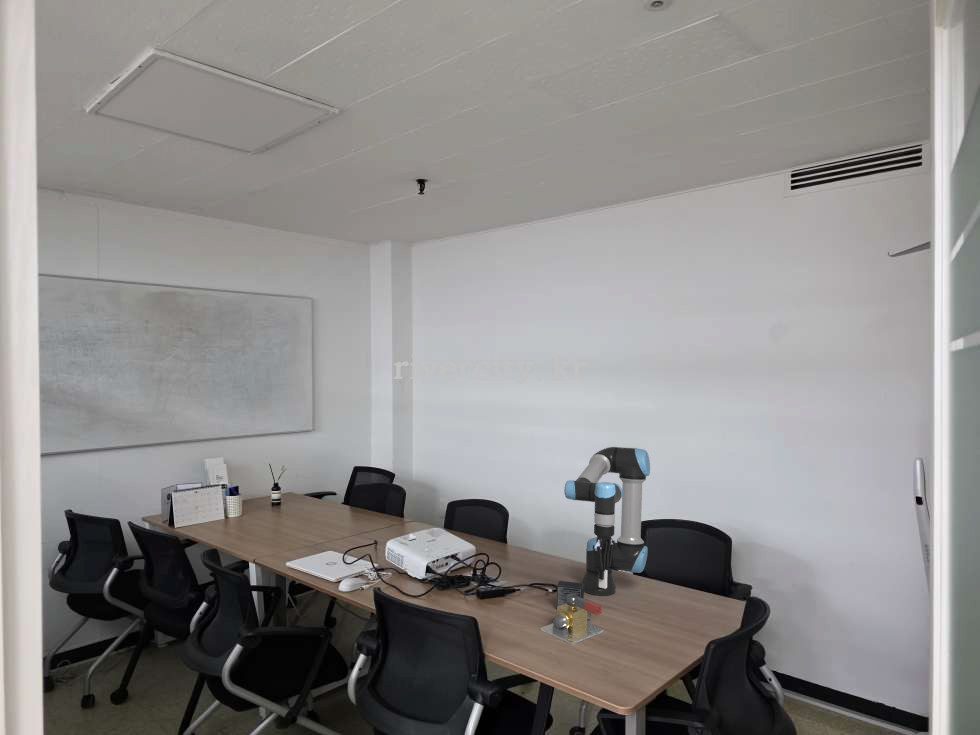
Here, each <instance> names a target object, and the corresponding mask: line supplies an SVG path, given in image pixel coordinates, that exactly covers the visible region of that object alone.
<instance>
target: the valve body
mask: <svg viewBox="0 0 980 735" xmlns="http://www.w3.org/2000/svg"><path fill="white" fill-rule="evenodd" d="M556 612H557V613H556V617H554V618H553V619H552V623H549V624H547V625H545V626H542V627H540V628H539V631H541V632H544V633H546V634H548V635H549V636H552V637H554V638H556V639H559V640H560V641H563V642H565V643H567V644H569V645H572V646H573V645H575V644H577V643H580V642H581V641H584V640H587V639H589V638H592V637H594V636H596V635H599V634H601V633H604V631H605V630H604V628H601V627H598V626H596V625H593V624H592V620H591V614H592V613H590V612H588V611H585V610H584V609H582V608H579V607H577V606H570V605H567V603H566V604H563V605H560V606H557V605H556ZM589 618H590V619H589Z"/></svg>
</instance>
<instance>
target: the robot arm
mask: <svg viewBox="0 0 980 735" xmlns="http://www.w3.org/2000/svg"><path fill="white" fill-rule="evenodd" d="M609 473H610V474H611V473H612V474H618V475H619V476H618V478H619V479H620V480H621V482H622V486H620V485H619V484H618V483H616V482H609V481H601V478H602V477H603V476H604V475H607V474H609ZM650 475H651V462H650V456H649V453H648V451H647V450H646V449H645V448H637V447H621V446H620V447H618V446H610V447H606V448H603V449H600V450H599V451H597V452H595V453H594V454H593V455H592V456H591V457H590V459H589V462H588V465H587V466H586V467H585V469H584V470H583V471H582V472H581V473H580V475H579V476H578V477H577V479H575V480H574V479H571V480H570V479H569V480H567V481H566V482H565V484H564V496H565V498H566V499H567V500H573V501H581V502H590V503H594V514H593V517H594V518H593V519H594V521H593V522H594V525H593V534H594V535H596V537H591V538H590V539H588V541H586V549H585V551H586V552H585V553H586V556H585V557H586V558H585V559H586V560H585V567H586V568H585V573H584V577H583V579H582V582H581V583H584V593H586V594H589V595H593V596H601V597H602V596H610V595H614V594H615V593H616V592H617V587H616V586H617V585H616V582H615V578H614V576H613V570H615V571H616V570H617V571H623V572H630V573H635V574H636V573H638V574H639V573H642V572H643V571H644V570H645V566H646V562H647V559H648V553H649V552H648V551H649V550H648V546H646V545H645V541H644V540H643V539H642V538H641V535H642V534H641V531H642V504H643V503H642V501H643V500H642V499H643V483H644V482H645V481H646V480H647V477H648V476H650ZM599 481H600V482H599ZM620 501H621V516H620V518H621V522H620V526H621V527H620V536H619V537H618V538H617V540H614V539H613V536H614V535H615V522H616V520H615V519H616V518H615V517H616V515H615V514H616V513H615V512H616V511H615V510H616V504H617V503H619V502H620ZM615 541H616V542H615Z"/></svg>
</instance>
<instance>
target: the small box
mask: <svg viewBox="0 0 980 735" xmlns="http://www.w3.org/2000/svg"><path fill="white" fill-rule="evenodd" d="M556 586H557V587H556V588H557V589H556V590H557V591H556V598H557V599H556V607H557V606H560V605H563V604H566V603H567V595H568V594H576V595H578V597H581V598H583V599H585V598H584V597H585V596H584V594H585V592H584V583H582V582H576V581H575V582H574V581H566V580H565V581H564V580H559V581H558V582H557V585H556Z"/></svg>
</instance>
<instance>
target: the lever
mask: <svg viewBox="0 0 980 735" xmlns="http://www.w3.org/2000/svg"><path fill="white" fill-rule="evenodd" d="M567 605H570V606H577V607H579V608H582V609H584V610H585V611H588V612H590V613H591V614H593V615H596V616H598V615H600V614H603V605H602V604H600V603H598V602H595V601H592V600H590V599H589V600H588V599H585V598H584V599H583V598H581V597H578V595H576V594H568V595H567Z"/></svg>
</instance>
